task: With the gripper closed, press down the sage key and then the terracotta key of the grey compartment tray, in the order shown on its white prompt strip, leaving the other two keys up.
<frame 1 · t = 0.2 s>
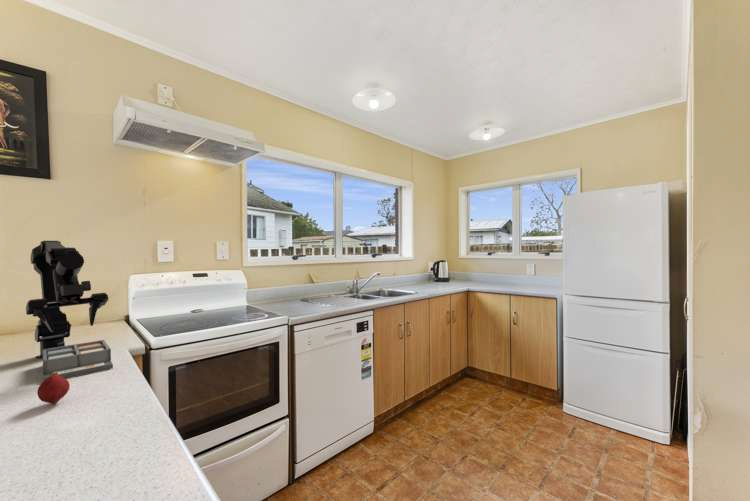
hand: (72, 328, 103), 15 cm above the counter, tool tilted 30°, fingers open, 9 cm apart
terracotta key: (90, 348, 116), point 4 cm above the counter, slide at 0.0 cm
onion: (53, 404, 84), on the counter
slate key: (60, 354, 111), point 4 cm above the counter, slide at 0.0 cm
sage key: (61, 359, 105), point 4 cm above the counter, slide at 0.0 cm
grey compartment tray: (77, 367, 109), on the counter
sand key: (92, 353, 111), point 4 cm above the counter, slide at 0.0 cm
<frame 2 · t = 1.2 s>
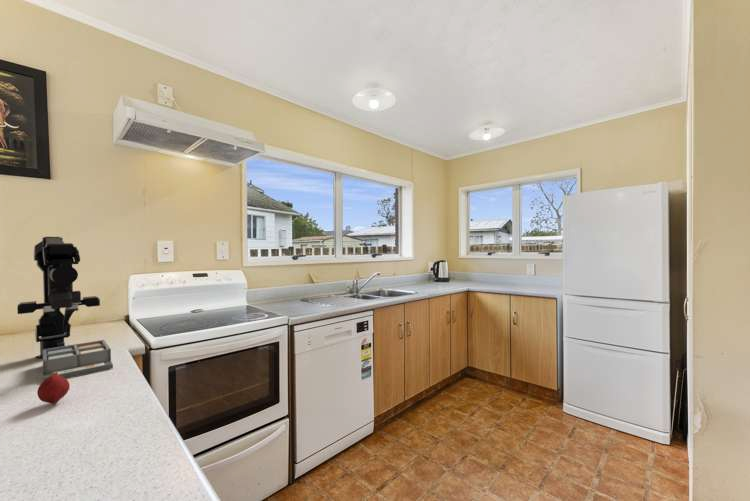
hand: (61, 331, 105), 13 cm above the counter, tool pointing down, fingers closed
nothing on the counter moved.
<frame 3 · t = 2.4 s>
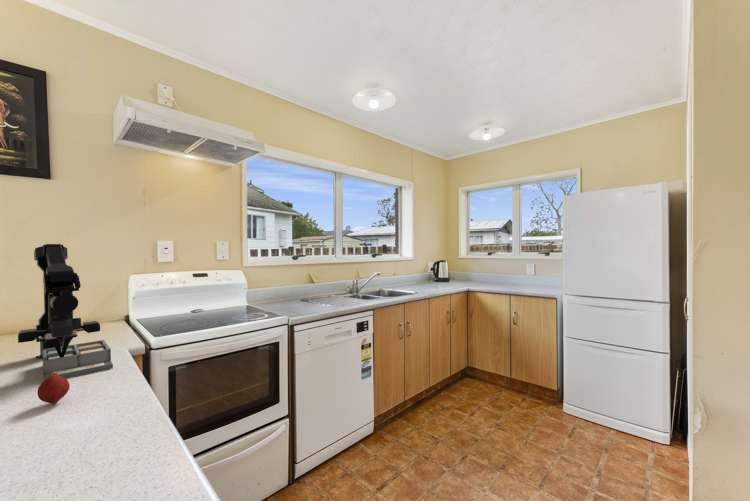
hand: (61, 357, 105), 4 cm above the counter, tool pointing down, fingers closed, pressing on sage key
sage key: (61, 360, 105), point 4 cm above the counter, slide at 0.2 cm, touching gripper
everything else where it was.
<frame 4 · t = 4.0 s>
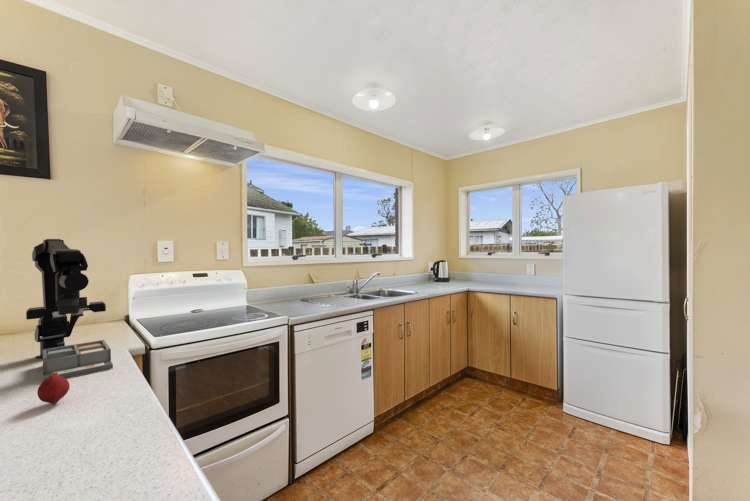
hand: (68, 336, 108), 11 cm above the counter, tool pointing down, fingers closed
sage key: (61, 364, 105), point 2 cm above the counter, slide at 1.5 cm
everything else where it was.
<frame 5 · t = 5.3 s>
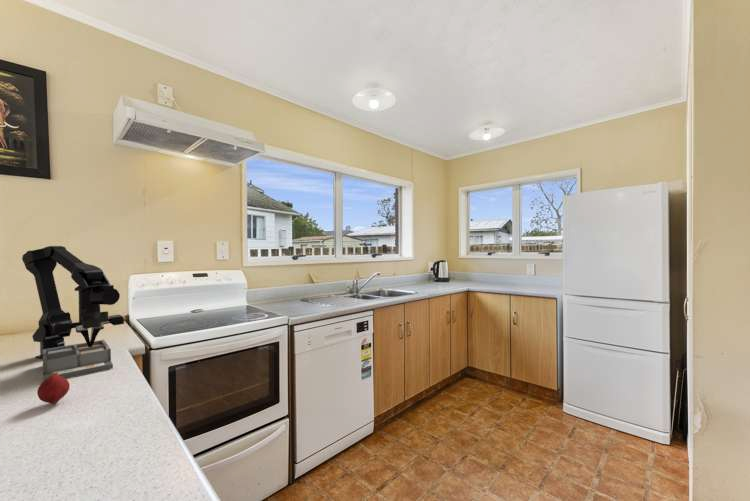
hand: (90, 347, 116), 4 cm above the counter, tool pointing down, fingers closed, pressing on terracotta key
terracotta key: (90, 349, 116), point 4 cm above the counter, slide at 0.4 cm, touching gripper
everything else where it was.
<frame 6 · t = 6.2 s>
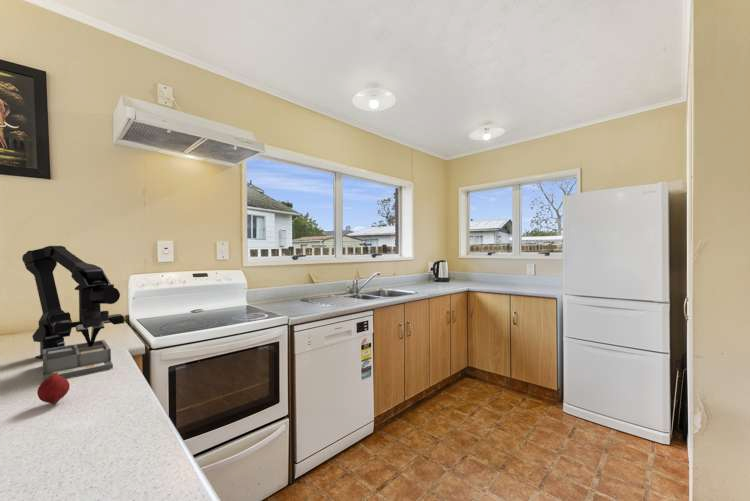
hand: (90, 347, 116), 5 cm above the counter, tool pointing down, fingers closed
terracotta key: (90, 353, 116), point 2 cm above the counter, slide at 1.5 cm
everything else where it was.
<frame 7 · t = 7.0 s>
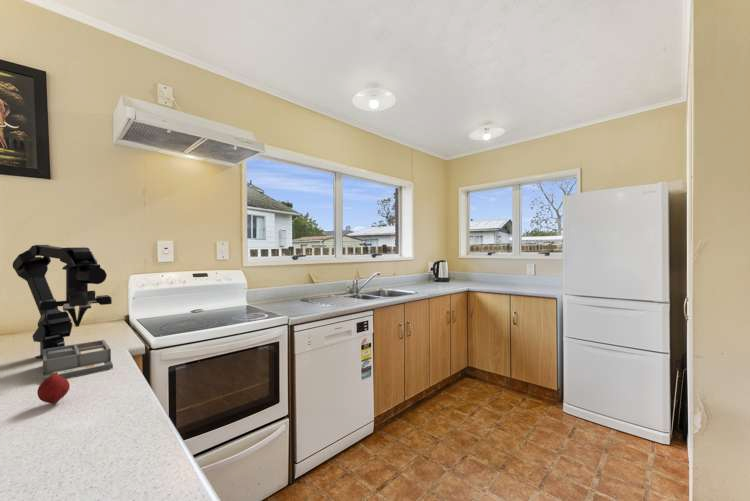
hand: (77, 326, 117), 12 cm above the counter, tool pointing down, fingers closed
nothing on the counter moved.
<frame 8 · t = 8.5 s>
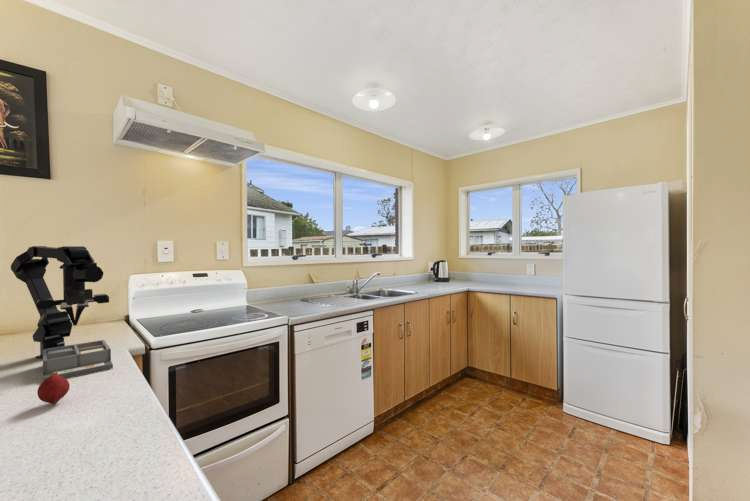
hand: (75, 325, 117), 12 cm above the counter, tool pointing down, fingers closed
nothing on the counter moved.
at the end: sage key slide at 1.5 cm; terracotta key slide at 1.5 cm; slate key slide at 0.0 cm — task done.
